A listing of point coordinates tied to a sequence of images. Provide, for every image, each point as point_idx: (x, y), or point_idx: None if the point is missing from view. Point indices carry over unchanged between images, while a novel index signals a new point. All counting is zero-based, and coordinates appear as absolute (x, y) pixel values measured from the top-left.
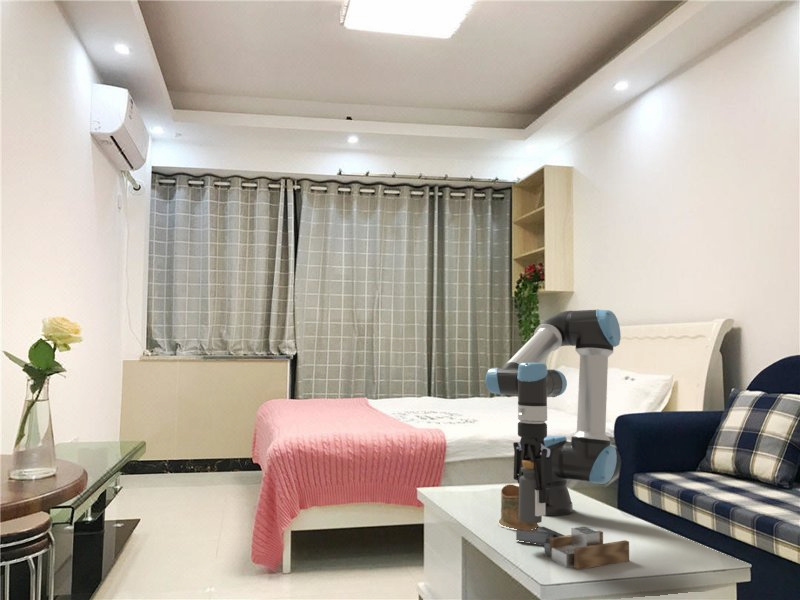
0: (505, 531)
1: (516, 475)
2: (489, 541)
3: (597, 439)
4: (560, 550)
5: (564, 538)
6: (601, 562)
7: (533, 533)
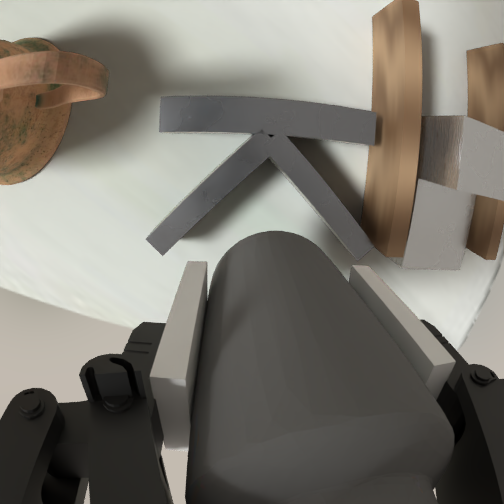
0: (51, 197)
1: (84, 494)
2: (135, 317)
3: None
4: (433, 262)
5: (411, 199)
6: None
7: (218, 201)
